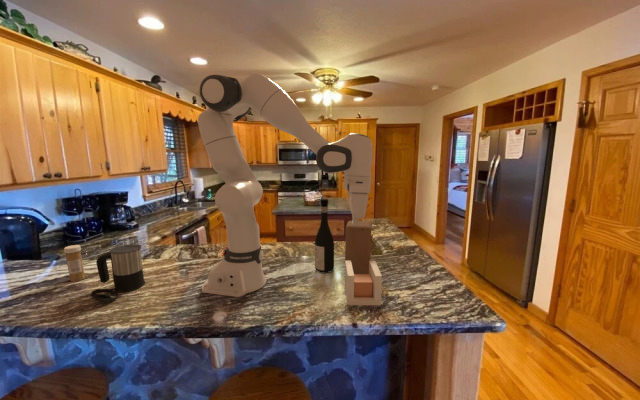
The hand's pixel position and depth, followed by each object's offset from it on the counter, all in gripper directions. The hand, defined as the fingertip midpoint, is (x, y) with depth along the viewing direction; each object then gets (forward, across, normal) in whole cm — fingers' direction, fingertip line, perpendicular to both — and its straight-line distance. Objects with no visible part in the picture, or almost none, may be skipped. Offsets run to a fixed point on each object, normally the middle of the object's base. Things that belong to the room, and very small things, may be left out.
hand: (355, 224), depth 88 cm
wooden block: (+24, -17, +4) cm, 30 cm away
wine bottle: (+25, -17, -10) cm, 31 cm away
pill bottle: (+28, -5, -106) cm, 110 cm away
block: (+24, +3, +3) cm, 24 cm away
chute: (+24, +3, +3) cm, 24 cm away
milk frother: (+27, +4, -82) cm, 86 cm away
